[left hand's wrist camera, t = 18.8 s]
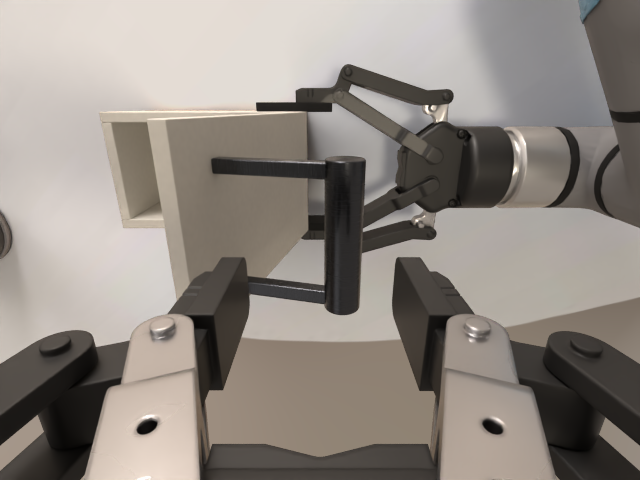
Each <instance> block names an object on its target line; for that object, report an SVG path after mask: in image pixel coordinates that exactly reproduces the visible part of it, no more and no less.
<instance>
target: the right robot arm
mask: <svg viewBox="0 0 640 480" xmlns="http://www.w3.org/2000/svg"><path fill="white" fill-rule="evenodd" d="M579 5H580V11H581V15H580V18H581V21H582V24H584V26H585V29H586V32H587V36H588V39H589V43H590V46H591V49H592V53H593V56H594V59H595V63H596V66H597V70H598V73H599V76H600V80H601V83H602V87H603V90H604V93H605V97H606V100H607V104H608V107H609V111H610V115H611V118H612V122H613V126H598V127H506V128H504V129H502V128H501V127H456V126H453V125H451V124H450V123H448V122H447V117H448V104H449V103H450V102H452V100H453V97H454V95H453V92H452V91H451V90H448V89H444V90H424V89H421V88H418V87H415V86H412V85H409V84H407V83H404V82H401V81H398V80H395V79H392V78H389V77H386V76H383V75H380V74H377V73H374V72H371V71H368V70H365V69H362V68H359V67H356V66H353V65H350V64H347V65H345V66H344V67H343V68H342V69H341V71H340V74H339V77H338V80H337V83H336V84H335V86H333V87H331V88H301V89H298V90H296V102H282V103H256V109H257V112H332V103H337V104H339V105H340V106H342V107H343V108H345V109H346V110H348V111H350V112H351V113H353V114H354V115H356V116H357V117H359V118H361V119H362V120H364V121H365V122H367V123H368V124H370V125H372V126H373V127H375V128H376V129H378V130H379V131H381V132H383V133H384V134H386V135H387V136H389V137H390V138H392V139H393V140H395V141H396V142H398V143H399V144H401V145H402V146H401V148H400V150H398V155H397V160H398V165H399V168H398V170H397V173H396V183H397V186H396V187H394V188H393V189H391V190H389V191H388V192H387V193H386V194H385V195H383V196H381V197H379V198H378V199H376V200H374V201H372V202H370V203H369V204H367V205H365V206H364V212H363V228H364V227H366V226H368V225H370V224H372V223H374V222H375V221H377V220H379V219H381V218H383V217H385V216H386V215H388V214H390V213H392V212H394V211H396V210H400V209H403V208H405V207H407V206H408V205H410V204H412V203H414V202H415V203H416V204H417V205H419V206H420V207H421V208H423V209H424V210H423V212H422V213H421V214H420V215H416V216H414V217H413V218H412V220H408V221H402V222H398V223H394V224H391V225H387V226H384V227H380V228H377V229H373V230H370V231H366V232H363V235H362V253H364V252H368V251H371V250H375V249H379V248H382V247H386V246H389V245H393V244H397V243H400V242H404V241H407V240H411V239H421V240H432V239H434V238H435V237H436V231H435V229H434V222H435V216H436V212H439V211H441V210H443V209H445V208H491V207H494V206H497V207H499V208H536V207H546V208H551V207H561V208H586V209H591V210H594V211H596V212H599V213H602V214H604V215H607V216H609V217H612V218H615V219H618V220H621V221H623V222H626V223H628V224H631V225H634V226H636V227H639V228H640V0H579ZM351 84H353V85H356V86H359V87H362V88H365V89H368V90H371V91H374V92H377V93H380V94H383V95H386V96H389V97H392V98H395V99H398V100H401V101H404V102H407V103H410V104H414V105H422V111H423V112H424V113H425V114H427V115H430V116H431V117H432V118H433V123H431V124H430V125H428V126H427V127H425V128H424V129H423V130H421V131H420V132H418V133H417V134H413V133H412V132H410V131H408V130H407V129H405V128H403V127H402V126H400V125H398V124H397V123H395V122H394V121H392V120H391V119H389V118H388V117H386V116H385V115H383V114H381V113H380V112H378V111H377V110H375V109H374V108H372V107H371V106H369V105H368V104H366V103H365V102H363V101H361V100H360V99H358V98H357V97H355V96H354V95H352V94H351V93H349V89H350V86H351ZM302 239H304V240H310V239H311V240H314V239H315V240H325V215H308V231H307V232H306V233H305V234H304V235H303V236H302Z"/></svg>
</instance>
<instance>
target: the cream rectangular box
mask: <svg viewBox="0 0 640 480" xmlns="http://www.w3.org/2000/svg"><path fill="white" fill-rule="evenodd" d="M262 113H283V112H257V110H181V111H118V112H99V114H100V118H101V122H102V128H103V133H104V138H105V142H106V147H107V152H108V156H109V161H110V166H111V171H112V175H113V180H114V185H115V190H116V194H117V199H118V204H119V208H120V213H121V218H122V223H123V228H165V226H164V220H163V214H162V208H161V202H160V196H159V190H158V184H157V178H156V172H155V166H154V160H153V154H152V148H151V142H150V136H149V130H148V124H147V119H154V118H176V117H197V116H219V115H240V114H262Z"/></svg>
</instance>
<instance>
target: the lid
mask: <svg viewBox="0 0 640 480" xmlns="http://www.w3.org/2000/svg"><path fill="white" fill-rule="evenodd" d="M147 124H148V130H149V136H150V142H151V148H152V154H153V160H154V166H155V172H156V178H157V184H158V190H159V196H160V202H161V208H162V214H163V220H164V226H165V232H166V238H167V244H168V250H169V256H170V262H171V268H172V274H173V280H174V286H175V292H176V298H177V301H178V299H179V298H180V297H181V296H182V294H183V292H184V291H185V290H186V289H187V288H188V286H189V284H190V283H191V282H192V280H193V279H194V278H196V277H197V276H199V275H200V274H202V273H204V272H205V271H213V270H214V268H215V267H216V265H217V264H218V262H219V261H220V259H221V258H222V257H244V258H245V259H246V264H247V275H248V288H249V296H250V294H254V295H261V296H269V297H276V298H283V299H290V300H298V301H305V302H312V303H319V304H324V306H325V308H326V309H327V310H328V311H329V312H331V313H333V314H337V315H349V314H352V313H354V312H356V311H357V310H358V308H359V302H360V279H361V257H362V235H363V212H364V190H365V168H366V160H365V159H364V158H361V157H354V156H334V157H328V158H326V159H325V160H307V112H283V113H262V114H240V115H219V116H197V117H176V118H154V119H147ZM308 179H325V267H324V285H317V284H309V283H301V282H293V281H285V280H277V279H269V278H266V277H267V276H268V274H269V273H270V272H271V271H272V270H273V269H274V268H275V267H276V265H277V264H278V263H279V262H280V261H281V260H282V259H283V258H284V257H285V255H286V254H287V253H288V252H289V251H290V250H291V249H292V248H293V246H294V245H295V244H296V243H297V242H298V241H299V240H300V239H301V238H302V236H303V235H304V234H305V233H306V232H307V231H308Z"/></svg>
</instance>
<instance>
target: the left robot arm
mask: <svg viewBox="0 0 640 480" xmlns="http://www.w3.org/2000/svg"><path fill="white" fill-rule="evenodd" d="M10 245H11V233H10V229H9V226H8V224H7V222H6V220H5V218H4V217H3V215H2V214H1V213H0V259H1V258H3V257H4V256H5V255H6V253H7V252H8V250H9V248H10ZM249 303H250V302H249V288H248V275H247V264H246V259H245V258H244V257H222V258H221V259H220V261H219V262H218V264H217V265H216V267H215V268H214V270H213V271H205V272H204V273H202V274H200V275H199V276H197V277H196V278H194V279H193V280H192V282H191V283H190V284H189V286H188V288H187V289H186V290H185V291H184V292H183V294H182V296H181V297H180V298H179V299H178V301H177V302H176V303H175V305H174V306H173V307H172V309H171V310H170V311H169V313H168V314H167V315H161V316H157V317H154V318H151V319H149V320H147V321H145V322H143V323H142V324H140V325H139V326H138V327H136V329H135V330H134V331H133V332H132V335H131V338H130V341H126V342H121V343H116V344H111V345H106V346H100V347H96V346H95V342H94V339H93V336H92V335H91V334H90V333H89V332H86V331H81V330H72V331H65V332H60V333H57V334H53V335H50V336H48V337H45V338H43V339H41V340H39V341H37V342H35V343H33V344H31V345H30V346H28V347H27V348H25V349H24V350H22V351H20V352H19V353H17V354H16V355H14V356H12V357H11V358H9V359H8V360H6V361H4V362H3V363H1V364H0V445H1V444H2V443H4V442H5V441H6V440H7V439H9V438H10V437H11V436H12V435H13V434H15V433H16V432H17V431H18V430H20V429H21V428H22V427H23V426H24V425H26V424H27V423H28V422H29V421H30V420H32V419H33V418H34V417H35V416H36V415H38V417H39V419H40V422H41V424H42V427H43V430H44V433H42V434H41V435H40V436H39V437H38V438H37V439H36V440H35V441H33V442H32V443H31V444H30V445H29V446H28V447H27V448H26V449H24V450H23V451H22V452H21V453H20V454H19V455H18V456H17V457H15V458H14V459H13V460H12V461H11V462H10V463H9V464H8V465H6V466H5V467H4V468H3V469H2V470H1V471H0V480H80V479H81V478H82V477H83V476H84V475H85V476H84V480H556V476H557V477H558V478H559V479H560V480H640V471H639V470H638V469H637V468H636V467H635V466H634V465H632V464H631V463H630V462H629V461H628V460H627V459H626V458H625V457H623V456H622V455H621V454H620V453H619V452H618V451H617V450H616V449H614V448H613V447H612V446H611V445H610V444H609V443H608V442H607V441H605V440H604V439H603V438H602V437H601V436H600V435H599V433H600V430H601V427H602V425H603V422H604V419H605V417H606V418H607V419H608V420H610V421H611V422H612V423H613V424H614V425H616V426H617V427H618V428H619V429H620V430H622V431H623V432H624V433H625V434H627V435H628V436H629V437H630V438H631V439H633V440H634V441H635V442H636V443H638V444H639V445H640V364H639V363H637V362H636V361H634V360H632V359H631V358H629V357H628V356H626V355H624V354H623V353H621V352H620V351H618V350H616V349H615V348H613V347H612V346H610V345H608V344H607V343H605V342H603V341H601V340H599V339H596V338H594V337H591V336H588V335H585V334H581V333H577V332H570V331H560V332H555V333H553V334H551V335H550V336H549V338H548V341H547V345H546V348H545V347H540V346H534V345H529V344H524V343H519V342H515V341H511V340H510V338H509V335H508V332H507V331H506V330H505V329H504V327H502V326H501V325H500V324H498V323H497V322H495V321H493V320H491V319H489V318H486V317H483V316H479V315H475V314H474V312H473V311H472V310H471V308H470V307H469V306H468V304H467V303H466V302H465V300H464V299H463V298H462V296H460V294H459V292H458V291H457V290H456V289H455V287H454V286H453V284H452V283H451V282H450V280H449V279H448V278H446V277H444V276H443V275H441V274H440V273H438V272H430V271H429V270H428V268H427V267H426V265H425V264H424V262H423V261H422V259H421V258H420V257H398V258H397V259H396V263H395V273H394V285H393V297H392V309H393V316H394V320H395V322H396V325H397V328H398V331H399V334H400V337H401V340H402V342H403V345H404V348H405V351H406V354H407V356H408V359H409V362H410V365H411V368H412V371H413V374H414V377H415V379H416V382H417V385H418V388H419V390H420V391H434V393H435V395H436V398H435V405H434V412H433V424H432V436H431V447H430V450H429V447H428V444H373V445H369V446H366V447H361V448H357V449H353V450H349V451H345V452H342V453H337V454H333V455H329V456H325V457H315V456H311V455H307V454H303V453H299V452H295V451H291V450H287V449H283V448H279V447H275V446H271V445H267V444H212V447H211V450H210V447H209V435H208V424H207V412H206V405H205V399H206V397H207V394H208V392H209V390H223V388H224V386H225V383H226V380H227V377H228V374H229V371H230V368H231V365H232V362H233V359H234V357H235V354H236V351H237V348H238V345H239V342H240V339H241V336H242V333H243V330H244V327H245V325H246V322H247V319H248V315H249ZM555 475H556V476H555Z"/></svg>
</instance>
